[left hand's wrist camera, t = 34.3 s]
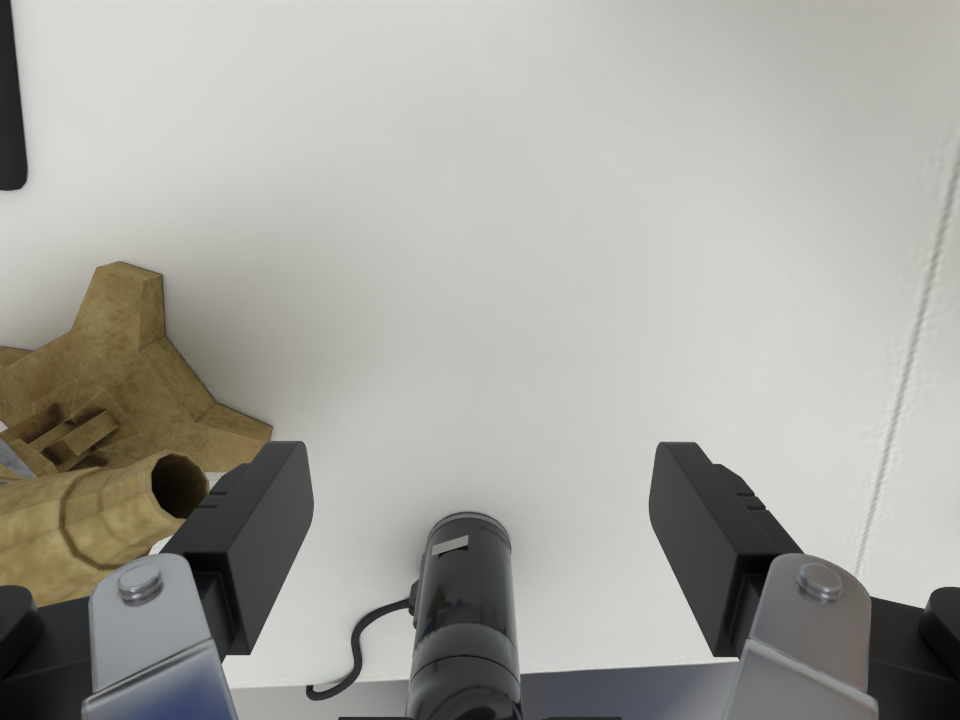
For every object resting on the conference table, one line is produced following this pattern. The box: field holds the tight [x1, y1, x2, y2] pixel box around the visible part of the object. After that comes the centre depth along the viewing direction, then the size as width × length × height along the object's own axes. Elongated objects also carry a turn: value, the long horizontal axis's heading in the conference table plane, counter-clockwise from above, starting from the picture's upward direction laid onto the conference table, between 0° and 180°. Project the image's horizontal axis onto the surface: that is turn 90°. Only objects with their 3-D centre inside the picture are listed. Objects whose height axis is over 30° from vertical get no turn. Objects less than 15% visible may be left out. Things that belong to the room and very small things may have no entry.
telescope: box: [0, 261, 272, 608], centre depth 31 cm, size 23×40×40 cm, turn 116°
